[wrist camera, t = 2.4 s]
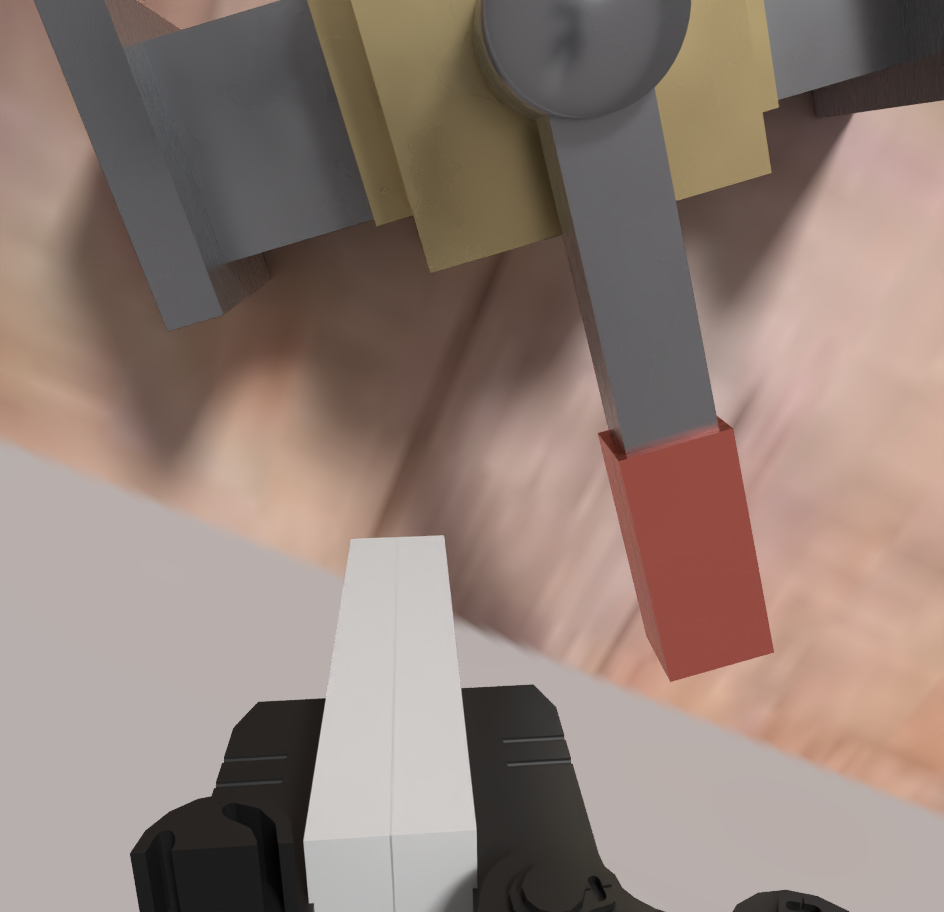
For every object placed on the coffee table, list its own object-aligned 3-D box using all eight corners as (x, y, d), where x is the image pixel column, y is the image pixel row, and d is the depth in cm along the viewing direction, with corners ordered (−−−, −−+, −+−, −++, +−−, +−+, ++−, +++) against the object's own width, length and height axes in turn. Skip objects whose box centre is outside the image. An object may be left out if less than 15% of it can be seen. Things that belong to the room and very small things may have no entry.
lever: (451, -42, 15) (460, -82, 12) (628, -95, 15) (669, -145, 12) (621, 635, 19) (650, 697, 17) (756, 596, 19) (804, 653, 17)
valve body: (133, 32, 21) (8, -35, 14) (826, -177, 21) (1023, -343, 14) (233, 301, 23) (165, 351, 17) (860, 117, 23) (1043, 93, 16)
